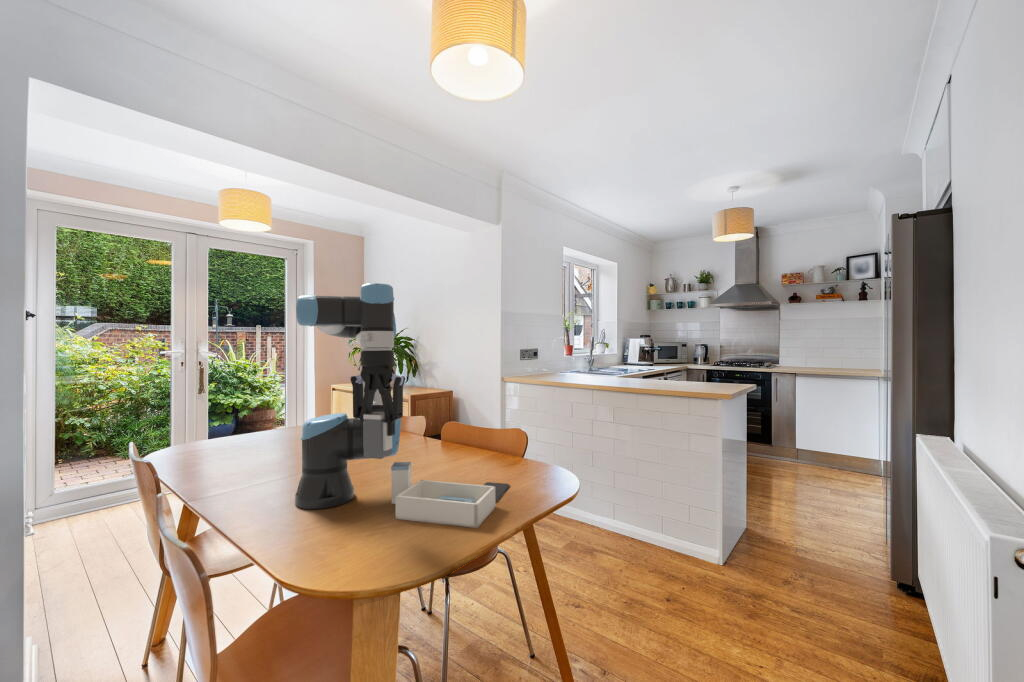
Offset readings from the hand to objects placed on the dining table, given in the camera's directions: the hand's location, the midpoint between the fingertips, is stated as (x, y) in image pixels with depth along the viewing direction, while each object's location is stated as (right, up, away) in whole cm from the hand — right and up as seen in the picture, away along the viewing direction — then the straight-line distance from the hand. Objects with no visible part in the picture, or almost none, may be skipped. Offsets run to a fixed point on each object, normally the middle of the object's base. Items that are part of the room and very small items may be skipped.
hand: (377, 448), depth 103 cm
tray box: (+15, -19, +9) cm, 26 cm away
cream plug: (+1, -19, +18) cm, 26 cm away
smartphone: (+25, -19, +24) cm, 40 cm away
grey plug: (0, -2, 0) cm, 2 cm away
